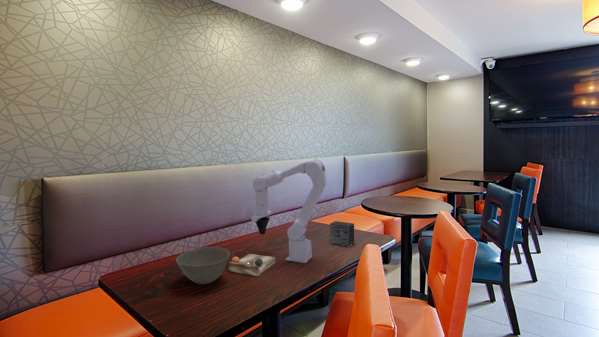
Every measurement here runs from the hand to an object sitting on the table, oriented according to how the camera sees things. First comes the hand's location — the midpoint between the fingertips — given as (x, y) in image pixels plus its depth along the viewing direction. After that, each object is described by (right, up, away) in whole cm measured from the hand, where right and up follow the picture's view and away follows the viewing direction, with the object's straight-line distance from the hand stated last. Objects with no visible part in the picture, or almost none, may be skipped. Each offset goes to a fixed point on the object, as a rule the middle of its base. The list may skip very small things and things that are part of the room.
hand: (262, 234), depth 141 cm
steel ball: (-4, -10, -15) cm, 18 cm away
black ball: (+1, -8, -16) cm, 18 cm away
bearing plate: (-2, -11, -11) cm, 16 cm away
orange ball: (-9, -8, -14) cm, 18 cm away
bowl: (-18, -13, -25) cm, 33 cm away
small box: (+38, -8, +15) cm, 42 cm away
